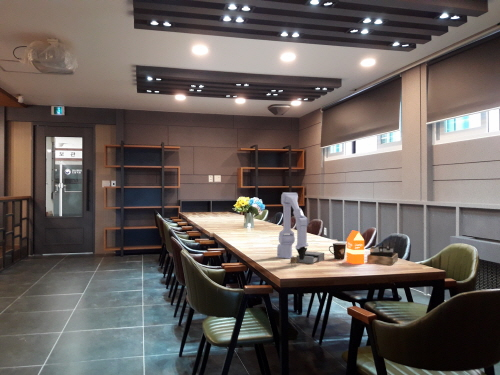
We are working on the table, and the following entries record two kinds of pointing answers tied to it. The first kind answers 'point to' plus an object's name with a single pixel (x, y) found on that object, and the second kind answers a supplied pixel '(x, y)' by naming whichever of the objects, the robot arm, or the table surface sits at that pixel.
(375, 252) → the camera
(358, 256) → the orange juice
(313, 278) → the table surface
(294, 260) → the walnut block
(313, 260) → the grey drawer
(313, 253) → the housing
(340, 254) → the coffee mug
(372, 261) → the frame
